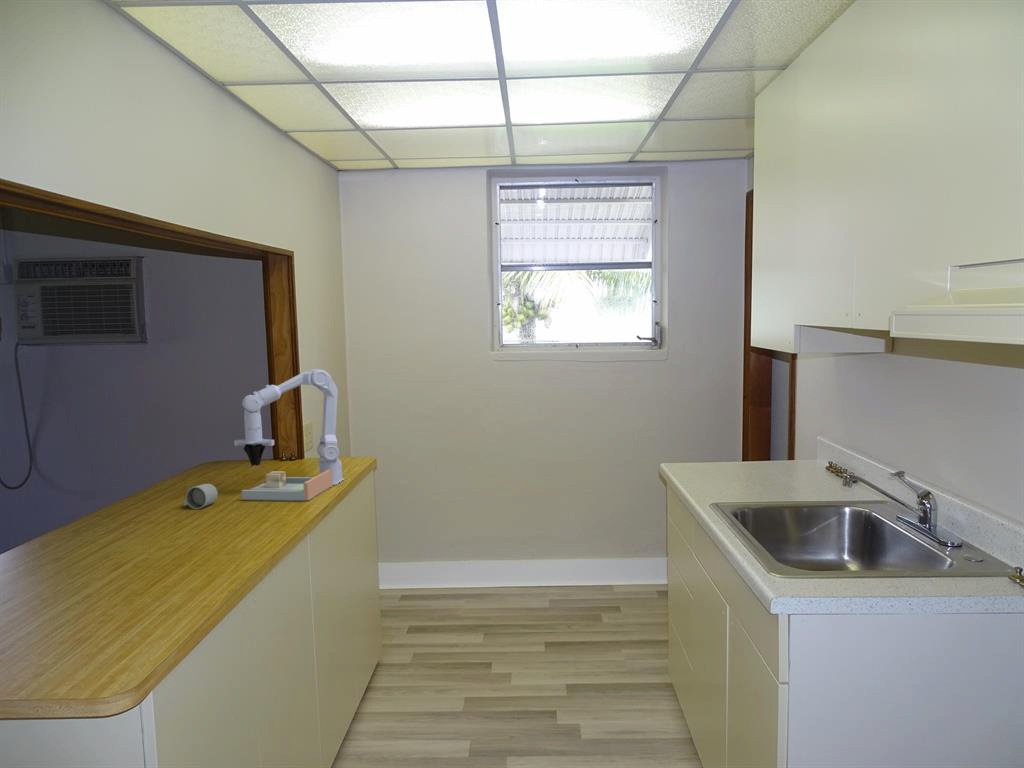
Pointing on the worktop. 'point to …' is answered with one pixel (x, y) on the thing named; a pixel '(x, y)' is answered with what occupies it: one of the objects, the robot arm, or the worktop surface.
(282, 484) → the birch block
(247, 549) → the worktop surface
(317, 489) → the box
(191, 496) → the ceramic mug
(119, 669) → the worktop surface
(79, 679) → the worktop surface
